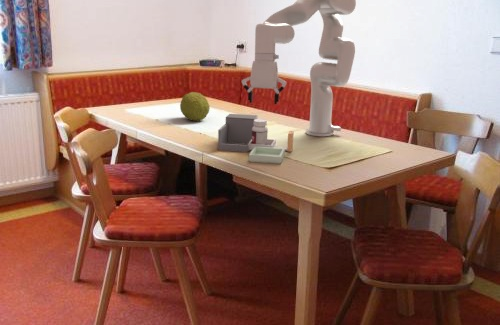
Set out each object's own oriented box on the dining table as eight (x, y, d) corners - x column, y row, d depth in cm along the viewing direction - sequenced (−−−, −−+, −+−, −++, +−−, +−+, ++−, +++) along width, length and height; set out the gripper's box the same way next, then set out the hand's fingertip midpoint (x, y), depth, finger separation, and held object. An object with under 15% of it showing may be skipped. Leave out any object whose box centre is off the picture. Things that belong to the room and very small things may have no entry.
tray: (284, 155, 183) (284, 148, 182) (280, 164, 172) (280, 157, 171) (254, 153, 185) (254, 146, 184) (248, 161, 174) (248, 154, 173)
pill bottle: (250, 146, 194) (251, 118, 191) (265, 146, 195) (266, 118, 192) (252, 150, 188) (253, 122, 185) (268, 150, 189) (269, 122, 186)
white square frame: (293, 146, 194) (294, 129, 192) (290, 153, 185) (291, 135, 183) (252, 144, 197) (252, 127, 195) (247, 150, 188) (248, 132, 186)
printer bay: (256, 139, 205) (257, 115, 202) (247, 152, 186) (248, 125, 183) (229, 137, 207) (230, 113, 204) (218, 150, 188) (218, 123, 185)
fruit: (217, 120, 240) (210, 96, 230) (191, 132, 237) (183, 108, 227) (205, 105, 251) (197, 81, 241) (180, 116, 248) (171, 92, 238)
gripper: (288, 57, 183) (286, 102, 188) (243, 56, 186) (243, 100, 191) (286, 59, 176) (284, 105, 181) (240, 57, 179) (239, 103, 184)
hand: (263, 103), depth 186 cm, fingers open, 9 cm apart
